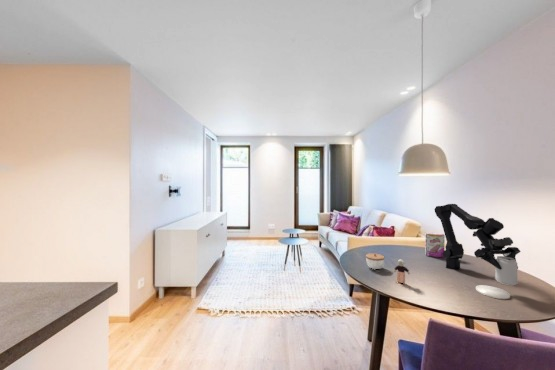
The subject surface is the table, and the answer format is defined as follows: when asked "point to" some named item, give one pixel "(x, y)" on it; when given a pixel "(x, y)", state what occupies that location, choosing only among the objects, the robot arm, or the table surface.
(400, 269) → the grandmother figurine
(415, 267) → the table surface
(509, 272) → the can
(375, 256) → the lidded jar
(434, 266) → the table surface
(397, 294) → the table surface
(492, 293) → the saucer
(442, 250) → the candy bar box
